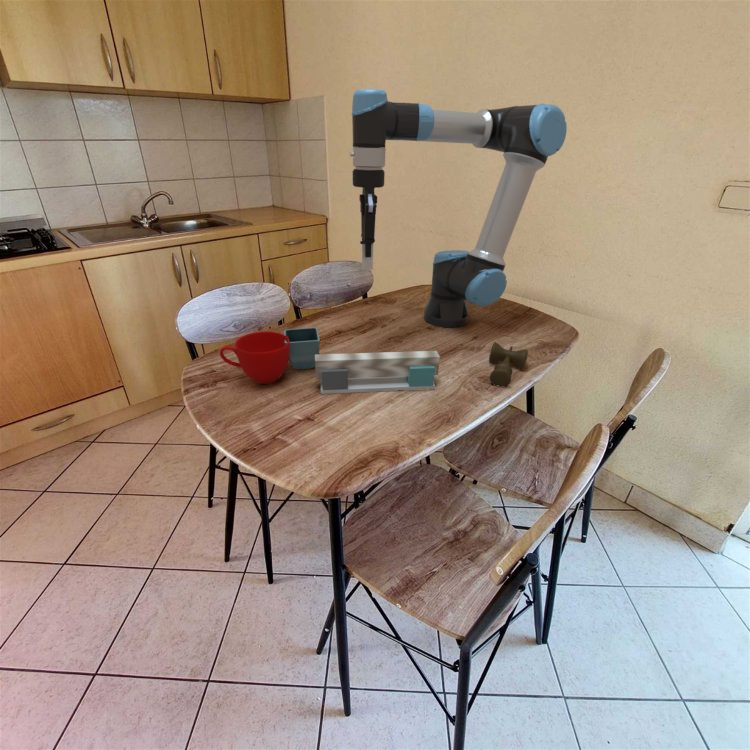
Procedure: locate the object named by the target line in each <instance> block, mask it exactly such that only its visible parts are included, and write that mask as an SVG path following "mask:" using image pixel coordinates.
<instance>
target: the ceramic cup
mask: <svg viewBox="0 0 750 750" xmlns="http://www.w3.org/2000/svg"><path fill="white" fill-rule="evenodd" d="M285 340H286V342H287V345H286V346H285ZM227 350H228V351H231V352H233V353H234V354H235V356H236V357H237V360H238V362H235V361H233V360H230V359H228V358H227V357H226V356H225V354H224V351H227ZM219 356H220V358H221V359H222V360H223V362H224V363H226V364H228V365H230V366H233V367H238V368H241V369H242V371H243V372H244V373H245V375H246V376H247V377H249V379H251V380H253V382H255V383H257V384H261V385H267V384H272V383H275V382H277V381H278V380H279V379H280V378H281V377H282V375H283V374H284V373H285V371H286V369H287V367H288V365H289V363H290V362H289V356H290V342H289V339H288V337H287V336H285V335H284V333H279V332H276V331H257V332H251V333H247V334H245V335H242V336H241V337H238V338H237V339H236V341H235V343H234V346H232V345H224V346H222V347H221V349H220V350H219Z"/></svg>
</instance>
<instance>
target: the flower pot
mask: <svg viewBox="0 0 750 750" xmlns="http://www.w3.org/2000/svg"><path fill="white" fill-rule="evenodd" d="M283 335H285V336H287V337H288V339H289V342H290V356H289V362H288V363H289V364H290V365H291V366H292V368H293V370H306V369H314V368H315V355H317V354H320V343H321V339H320V335H319V329H318V328H317V327H304V328H303V327H302V328H301V327H300V328H291V329H289V328H287V329H284V330H283ZM286 345H287V342H286V340H285V346H286Z"/></svg>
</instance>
